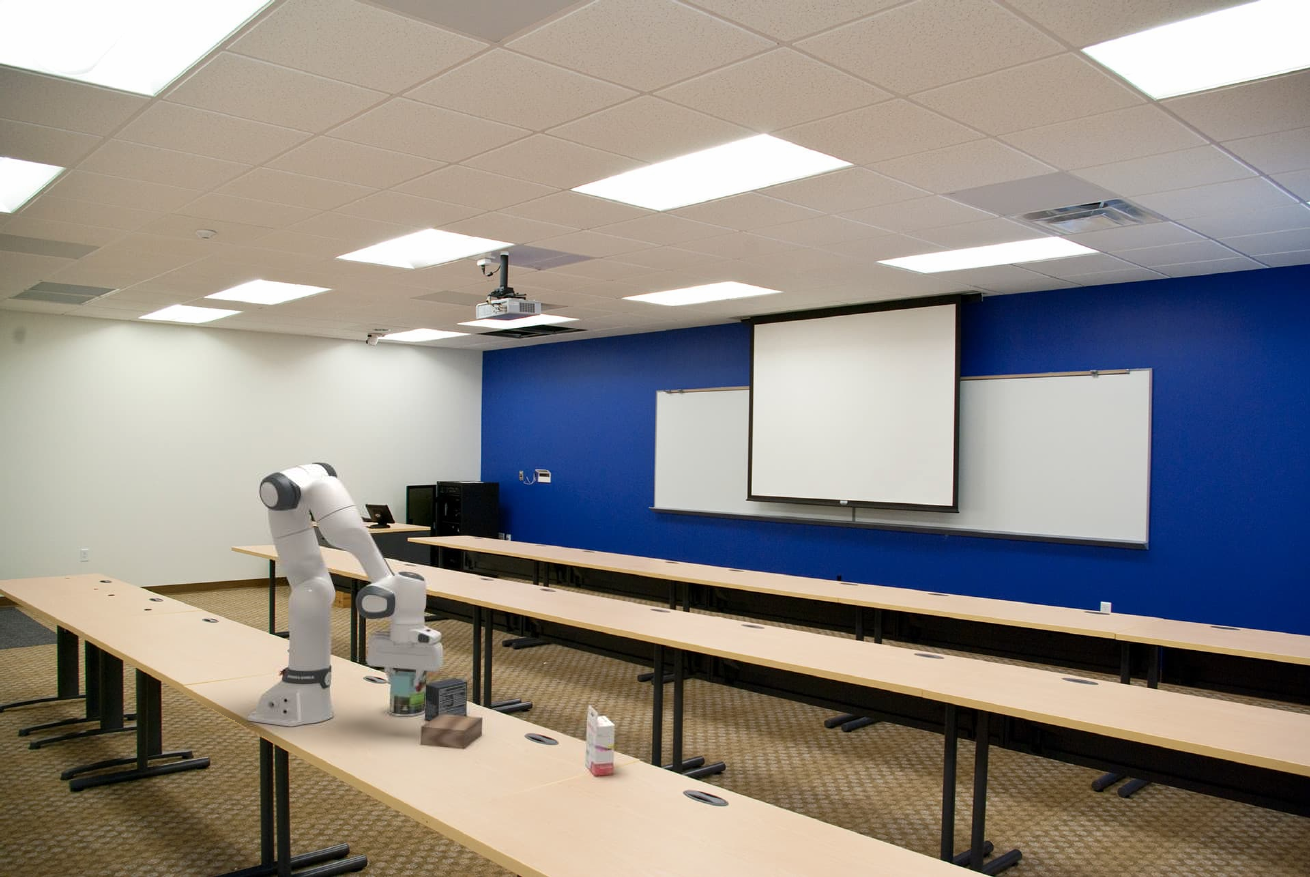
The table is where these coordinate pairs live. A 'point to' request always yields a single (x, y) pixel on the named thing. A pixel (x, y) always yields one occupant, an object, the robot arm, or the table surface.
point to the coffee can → (409, 698)
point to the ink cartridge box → (599, 744)
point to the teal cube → (402, 683)
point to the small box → (446, 698)
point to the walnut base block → (451, 731)
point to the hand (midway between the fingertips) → (403, 684)
